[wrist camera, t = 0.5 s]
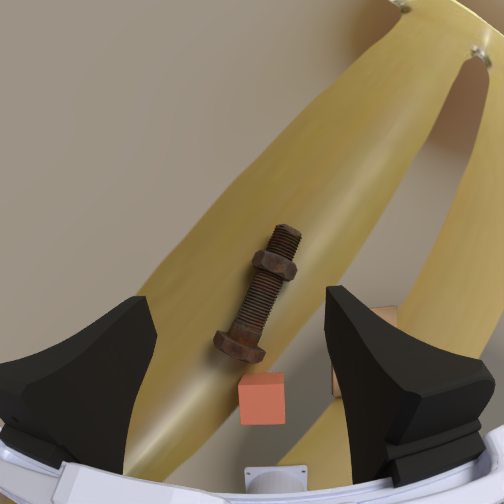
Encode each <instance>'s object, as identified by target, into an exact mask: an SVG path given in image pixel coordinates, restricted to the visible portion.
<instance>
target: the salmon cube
mask: <svg viewBox="0 0 504 504" xmlns="http://www.w3.org/2000/svg"><path fill="white" fill-rule="evenodd" d="M238 392H239V406H240V419H241V425H266V424H285V403H284V381H283V372H279V373H256V374H243V376H242V378H241V380H240V382H239V385H238Z"/></svg>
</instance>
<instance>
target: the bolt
mask: <svg viewBox="0 0 504 504" xmlns="http://www.w3.org/2000/svg"><path fill="white" fill-rule="evenodd" d="M272 235H273V236H271V238H272V239H270V242H269V244H268V247H267V248H266V249H267V250H260V251H258V252H256V253H255V255H254V257H253V260H252V264H253V267H255V268H256V269H258V270H257V273H256V275H255V276H254V277H255V278H253V280H254V281H252V283H253V284H250V285H251V287H249V288H250V289H249V290H248V291H249V292H247V294H248V295H246V298H245V301H243V302H244V304H242V305H243V306H242V307H241V309H240V310H239V311H240V312H238V314H239V315H237V317H238V318H235V321H234V322H233V323H232V325H231V328H230V330H229V332H228V333H226V332H222V331H217V332H216V334H215V337H214V339H213V341H214V345H215V347H216V348H218V349H219V350H221V351H222V352H224V353H226V354H227V355H229V356H231V357H233V358H236V359H239V360H242V361H244V362H248V363H252V364H256V363H259V362H261V361H262V360H263V358H264V356H265V353H266V352H265V351H264V350H263V349H261V348H260V347H258V346H257V344H258V342H259V339H260V337H261V335H262V330H263V326H265V325H264V324H265V323H266V322H265V321H267V319H266V318H268V315H270V313H269V312H271V310H270V309H272V307H271V306H273V304H274V301H276V299H275V298H277V296H276V295H278V293H277V292H279V290H278V289H281V288H280V286H282V285H281V284H282V283H283V282H282V281H288V282H289V281H291V280H293V279H294V277H295V275H296V272H297V268H296V265H295V264H294V263H293V262H292V261H293V260H292V258H294V257H293V256H294V255H295V254H294V253H296V251H295V250H297V247H298V244H299V242H300V239H302V238H301V233H300V232H299V231H298V230H296V229H294V228H292V227H290V226H288V225H286V224H279V225H276V228H275V231H274V233H273V234H272Z"/></svg>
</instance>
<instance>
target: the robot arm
mask: <svg viewBox="0 0 504 504" xmlns="http://www.w3.org/2000/svg"><path fill="white" fill-rule="evenodd" d="M325 305H326V306H325V324H324V330H325V337H326V342H327V348H328V352H329V355H330V359H331V362H332V365H333V369H334V372H335V375H336V378H337V382H338V385H339V388H340V391H341V395H342V399H343V403H344V409H345V416H346V422H347V429H348V437H349V445H350V454H351V465H352V480H353V485H350V486H344V487H338V488H331V489H323V490H315V491H307V466H306V465H296V466H278V467H246V468H245V470H244V474H245V486H246V494H231V493H212V492H206V491H203V490H200V489H194V488H188V487H183V486H178V485H172V484H165V483H159V482H153V481H147V480H142V479H137V478H132V477H128V476H123V462H124V453H125V446H126V439H127V433H128V428H129V423H130V418H131V414H132V410H133V406H134V402H135V399H136V396H137V394H138V391H139V389H140V386H141V384H142V381H143V379H144V376H145V374H146V371H147V369H148V366H149V363H150V361H151V358H152V356H153V352H154V348H155V344H156V339H157V332H156V329H155V326H154V323H153V320H152V317H151V314H150V310H149V307H148V304H147V300H146V297H145V296H132V297H130V298H128V299H127V300H125V301H124V302H122V303H121V304H119V305H118V306H116V307H115V308H113V309H112V310H111V311H109V312H108V313H106V314H105V315H104V316H102V317H101V318H99V319H98V320H96V321H95V322H93V323H92V324H90V325H89V326H87V327H86V328H84V329H83V330H81V331H80V332H78V333H77V334H75V335H73V336H72V337H70V338H68V339H66V340H65V341H62V342H61V343H59V344H57V345H54V346H52V347H50V348H48V349H46V350H43V351H41V352H38V353H36V354H33V355H30V356H27V357H24V358H21V359H18V360H14V361H10V362H5V363H1V364H0V418H1V419H2V420H3V422H4V423H5V425H4V427H3V428H1V427H0V492H1V493H3V494H4V495H5V496H7V497H8V498H10V499H12V500H13V501H15V502H16V503H18V504H503V503H504V425H502V426H500V427H498V428H496V429H494V430H492V431H490V432H489V433H487V434H486V435H484V436H483V437H482V438H481V436H480V434H479V432H478V431H479V430H480V429H481V424H480V421H479V420H478V417H479V416H480V414H481V413H482V411H483V410H484V408H485V407H486V405H487V404H488V402H489V401H490V399H491V397H492V395H493V393H494V388H495V380H494V378H493V376H492V375H491V373H490V372H489V370H488V369H487V368H486V366H485V364H484V363H483V362H482V360H478V359H474V358H470V357H465V356H461V355H457V354H454V353H451V352H448V351H445V350H442V349H439V348H436V347H434V346H431V345H429V344H427V343H424V342H422V341H420V340H418V339H416V338H414V337H412V336H410V335H408V334H406V333H404V332H403V331H401V330H399V329H397V328H396V327H394V326H393V325H391V324H390V323H388V322H387V321H385V320H384V319H382V318H381V317H380V316H378V315H377V314H376V313H374V312H373V311H372V310H370V309H369V308H368V307H367V306H365V305H364V304H363V303H362V302H360V301H359V300H358V299H357V298H356V297H355V296H354V295H352V294H351V293H350V292H349V291H348V290H347V289H345V288H344V287H343V286H342V285H340V286H328V287H326V304H325ZM303 470H304V471H305V472H302V471H303ZM247 473H250V474H247Z"/></svg>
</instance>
